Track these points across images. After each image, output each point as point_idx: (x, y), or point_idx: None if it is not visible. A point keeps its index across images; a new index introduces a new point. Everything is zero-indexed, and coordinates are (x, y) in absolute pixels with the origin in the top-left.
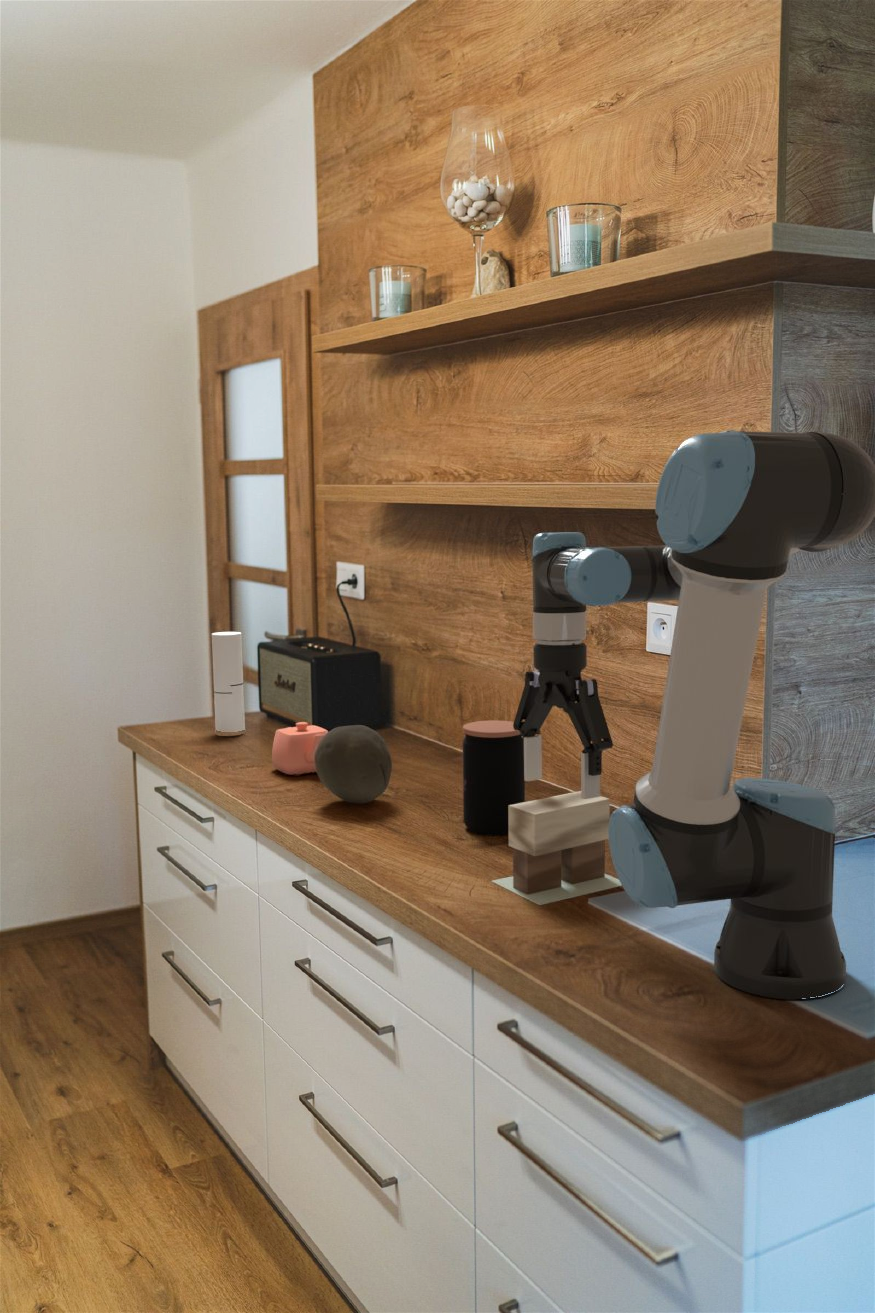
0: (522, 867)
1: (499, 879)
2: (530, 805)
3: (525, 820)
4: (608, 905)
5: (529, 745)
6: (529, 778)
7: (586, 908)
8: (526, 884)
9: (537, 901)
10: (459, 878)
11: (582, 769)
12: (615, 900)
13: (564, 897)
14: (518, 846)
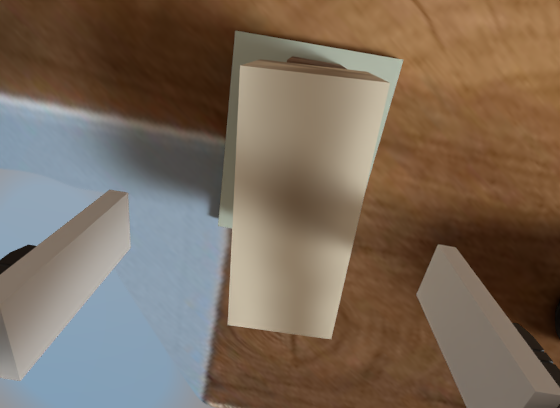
0: (308, 61)
1: (395, 79)
2: (330, 138)
3: (293, 69)
4: (196, 154)
5: (502, 363)
6: (437, 257)
7: (207, 117)
8: (294, 57)
9: (251, 42)
10: (495, 54)
11: (55, 247)
12: (206, 178)
13: (235, 100)
14: (326, 67)
